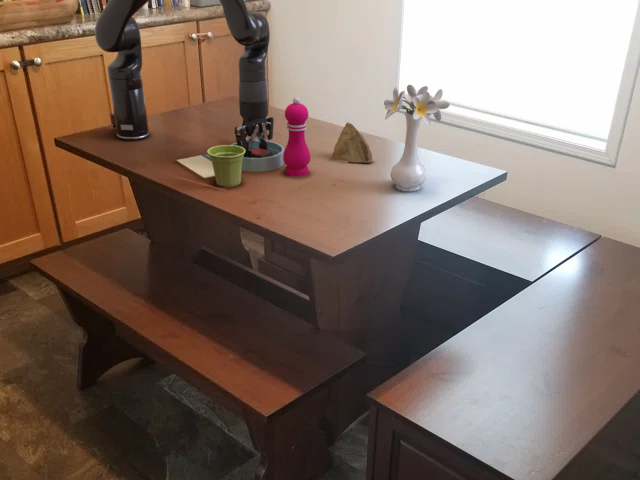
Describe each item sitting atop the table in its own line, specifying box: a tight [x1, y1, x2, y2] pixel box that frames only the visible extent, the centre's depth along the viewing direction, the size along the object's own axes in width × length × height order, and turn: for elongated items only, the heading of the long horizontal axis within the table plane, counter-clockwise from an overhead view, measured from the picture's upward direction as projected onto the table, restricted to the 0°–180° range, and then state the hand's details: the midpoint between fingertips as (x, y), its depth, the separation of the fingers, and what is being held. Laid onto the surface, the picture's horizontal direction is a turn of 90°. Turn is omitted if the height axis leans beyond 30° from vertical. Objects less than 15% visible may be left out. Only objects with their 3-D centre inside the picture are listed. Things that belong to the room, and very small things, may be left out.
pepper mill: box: [283, 96, 311, 178], centre depth 178 cm, size 7×7×20 cm
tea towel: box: [176, 153, 215, 179], centre depth 185 cm, size 16×9×1 cm, turn 37°
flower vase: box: [383, 84, 450, 193], centre depth 171 cm, size 13×18×25 cm
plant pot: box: [206, 144, 245, 188], centre depth 174 cm, size 9×9×9 cm
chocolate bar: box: [251, 147, 272, 158], centre depth 188 cm, size 8×4×3 cm, turn 58°
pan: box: [230, 139, 285, 173], centre depth 188 cm, size 15×16×4 cm
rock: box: [331, 122, 373, 164], centre depth 191 cm, size 11×9×10 cm
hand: (256, 159), depth 188 cm, fingers open, 6 cm apart
